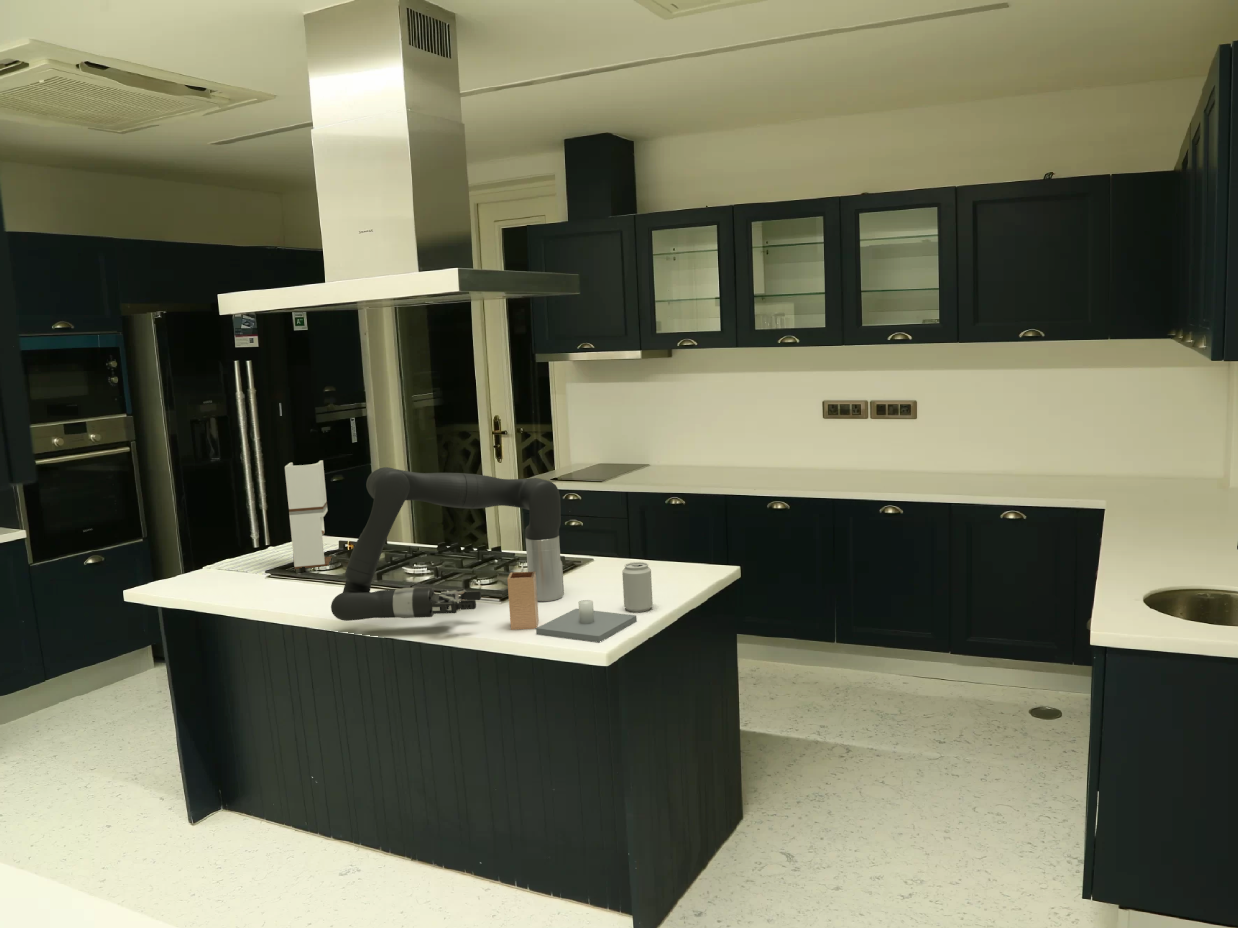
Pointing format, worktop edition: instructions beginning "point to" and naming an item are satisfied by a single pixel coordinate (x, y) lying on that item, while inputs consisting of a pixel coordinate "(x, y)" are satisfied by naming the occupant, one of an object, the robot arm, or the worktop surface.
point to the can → (637, 587)
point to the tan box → (523, 600)
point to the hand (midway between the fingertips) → (478, 599)
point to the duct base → (586, 623)
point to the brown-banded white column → (307, 513)
